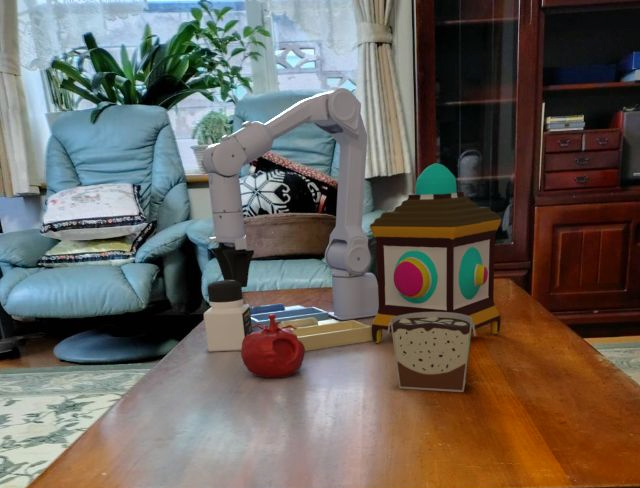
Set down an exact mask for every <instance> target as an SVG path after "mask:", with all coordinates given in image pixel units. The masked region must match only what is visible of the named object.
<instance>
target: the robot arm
mask: <svg viewBox="0 0 640 488" xmlns="http://www.w3.org/2000/svg"><path fill="white" fill-rule="evenodd" d="M361 111H362V103H361V101H360V100H359V99H358V98H357V97H356V96H355V95H354V93H353V92H352V91H351V90H349V89H348V88H345V87H339V88H336V89H334V90H330V91H326V92H319V93H316V94H314V95H313V96H311V97H308V98H304V99H302V100H300V101H298V102H297V103H295V104H293V105H292V106H290V107H288V108H287V109H285V110H284V111H282V112H281V113H279V114H278V115H276V116H274V117H272V119H270V120H269V121H267V122H265V123H262V122H260V121H257V120H255V121H251V120H247V121H245V122H243V123H242V124H241V126H242V128H240V129H238V130H237V131H235V132H233V133H232V134H224V135H223V136H221V141H220V142H218V143H213V144H210V145H208V146H207V147H206V148H205V150H204V152H203V154H202V160H200V163H201V167H202V169H203V170H204V172H205V173H206V174H207V178H208V186H209V187H208V190H209V199H210V206H211V207H210V208H211V214H212V221H213V229H214V230H213V233H214V236H212V237H208V241H209V243H212V242H213V243H216V245H218V246H215V247H210V251H211V252H212V254H213V255H214V257H215V259H216V261H217V263H218V266H219V269H220V272H221V276H222V278H223V280H235V281H238V282H240V283H241V286H242V288H247V287H248V283H249V282H248V281H249V272H250V267H251V266H250V265H251V263H252V262H251V261H252V259H253V256H254V254H255V249H253V248H248V244H247V240H248V238H247V235H246V228H245V220H244V219H245V217H244V211H243V209H244V208H243V200H242V189H241V183H240V172H241V171H242V169H243V167H246V166H247V165H249V164H250V163H252V162H254V161H255V160H257V159H258V158H260V157H263V156H264V155H265V154H267V153H269V152H270V151H272V148H273V144H274V141H275V140H276V139H278V138H280V137H282V136H284V135H285V134H287V133H289V132H291V131H293V130H295V129H297V128H298V127H300V126H302V125H304V124H308V125H311V124H313V125H315V127H317V128H318V129H320V130H322V131H324V132H325V133H327V134H329V135H330V136H331V138H333V139H334V141H335V142H336V143H337V144H338V145H339V159H338V174H337V175H338V176H337V177H338V179H337V194H336V196H337V197H336V213H335V214H336V216H335V226H334V228H333V230H332V231H331V233H330V234H329V242H328V245H327V247H326V249H325V252H324V260H325V264H326V265H327V266H328V267H329V268H330V274H331V289H332V291H331V292H332V306H333V308H332V309H333V311H328V317H331V318H333V319H335V320H336V319H337V320H338V321H350V320H356V319H361V318H371V317H376V314H377V312H378V308H379V299H378V278H377V277H376V275H375V274H374V273H373V272H367V270H368V269H369V267H370V265H371V261H372V255H371V251H370V249H369V238H368V236H367V234H366V233H365V231H364V230H363V213H364V198H365V184H366V183H365V182H366V168H367V167H366V166H367V152H368V133H367V129H366V127H365V124H364V120H363V116H362V114H361Z"/></svg>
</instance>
